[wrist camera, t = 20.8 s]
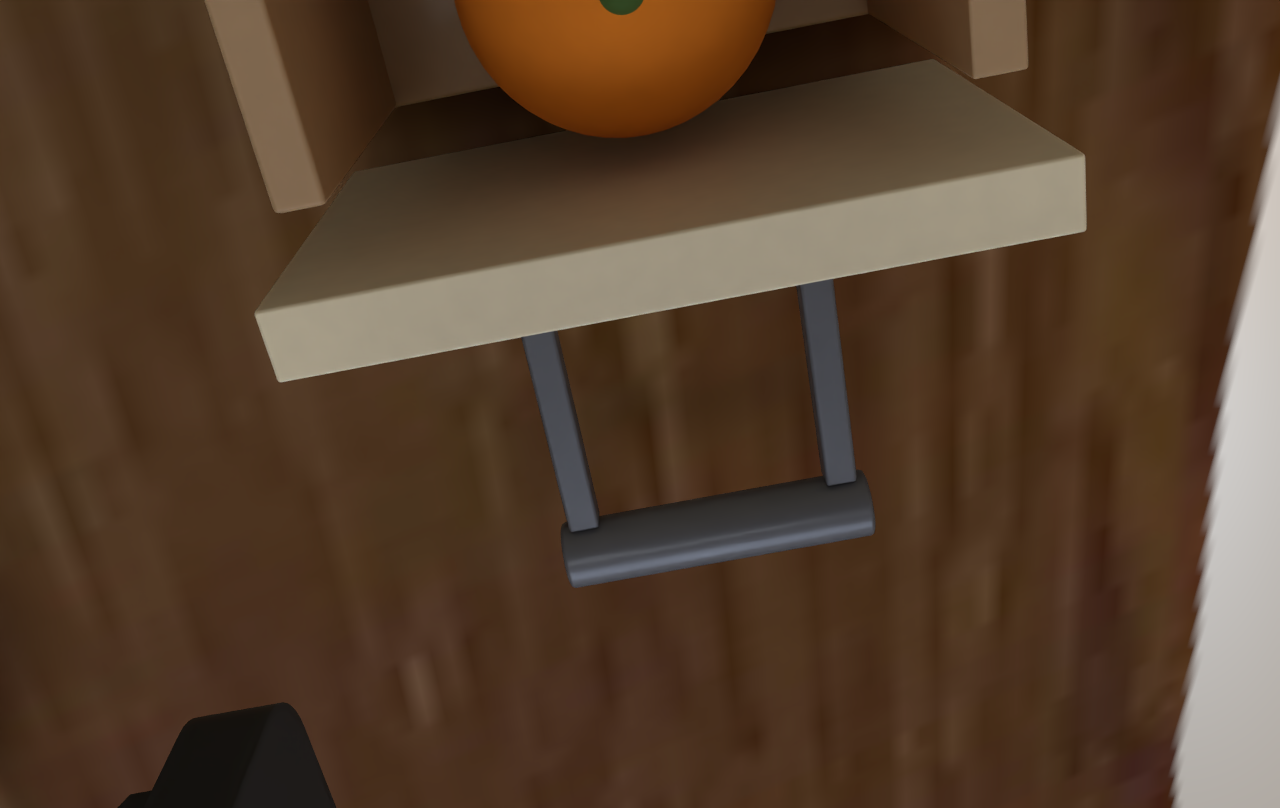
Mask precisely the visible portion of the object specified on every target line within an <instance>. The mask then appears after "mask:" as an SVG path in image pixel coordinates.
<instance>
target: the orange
mask: <svg viewBox="0 0 1280 808" xmlns="http://www.w3.org/2000/svg"><path fill="white" fill-rule="evenodd" d="M454 1H455V6H456V9H457V13H458V16H459V19H460V22H461V26H462V28H463V30H464V33H465V35H466V37H467V39H468V42H469V44H470V46H471V48H472V50H473V51H474V53H475V55H476V56H477V58H478V60H479V61H480V63H481V64H482V66H483V67H484V69H485V70H486V71H487V72H488V74H489V75H490V76H491V77H492V79H493V80H494V81H495V83H496V84H497V85H498V86H499V87H500V88H501V89H502V90H503V91H505V92H506V93H507V94H508V95H509V96H510V97H511V98H512V99H513V100H514V101H516V102H517V103H518V104H520V105H521V106H522V107H524V108H525V109H526V110H528V111H529V112H531V113H533V114H534V115H536V116H538V117H540V118H541V119H543V120H545V121H547V122H549V123H551V124H553V125H556V126H558V127H561V128H563V129H565V130H569V131H572V132H576V133H580V134H584V135H588V136H596V137H603V138H629V137H637V136H644V135H649V134H653V133H657V132H660V131H664V130H667V129H670V128H672V127H674V126H677V125H679V124H682V123H684V122H686V121H688V120H690V119H691V118H693V117H695V116H697V115H698V114H700V113H702V112H703V111H705V110H706V109H707V108H709V107H710V106H711V105H713V104H714V103H715V102H716V101H718V100H719V99H720V98H721V97H722V96H723V95H724V94H725V93H726V92H727V91H728V90H729V89H730V88H731V87H732V86H733V85H734V84H735V83H736V82H737V80H738V79H739V78H740V77H741V75H742V74H743V73H744V72H745V70H746V69H747V68H748V66H749V64H750V63H751V61H752V60H753V58H754V56H755V55H756V53H757V51H758V50H759V47H760V45H761V43H762V41H763V39H764V36H765V34H766V32H767V30H768V27H769V24H770V20H771V17H772V14H773V11H774V8H775V2H776V0H454Z"/></svg>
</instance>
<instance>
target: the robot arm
mask: <svg viewBox="0 0 1280 808" xmlns="http://www.w3.org/2000/svg"><path fill="white" fill-rule="evenodd" d="M118 808H336V806H335V803H334V801H333V798H332V796H331V793H330V791H329V788H328V786H327V783H326V781H325V778H324V776H323V773H322V770H321V768H320V765H319V763H318V760H317V758H316V755H315V753H314V750H313V748H312V745H311V743H310V740H309V738H308V735H307V733H306V730H305V727H304V725H303V723H302V721H301V718H300V717H299V715H298V713H297V712H296V710H295V709H294V708H293V707H292V706H291V705H289V704H288V703H277V704H271V705H266V706H260V707H254V708H249V709H243V710H237V711H231V712H226V713H220V714H214V715H209V716H203V717H197V718H193V719H192V720H190V721H188V722H187V724H186V725H185V726H184V727H183V729H182V730H181V732H180V734H179V736H178V738H177V740H176V742H175V744H174V746H173V748H172V750H171V752H170V754H169V756H168V758H167V761H166V763H165V765H164V767H163V769H162V771H161V773H160V775H159V777H158V779H157V781H156V783H155V785H154V787H153V789H152V791H147V792H142V793H136V794H130V795H129V796H128V797H127V798H126V800H125V801H124V802H123V803H122V804H121V805H120V806H119V807H118Z"/></svg>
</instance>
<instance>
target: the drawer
mask: <svg viewBox="0 0 1280 808" xmlns="http://www.w3.org/2000/svg"><path fill="white" fill-rule="evenodd" d="M204 1H205V4H206V7H207V10H208V13H209V16H210V19H211V22H212V25H213V29H214V32H215V35H216V38H217V41H218V44H219V47H220V50H221V53H222V56H223V59H224V62H225V65H226V68H227V71H228V74H229V77H230V80H231V83H232V86H233V89H234V92H235V95H236V98H237V101H238V104H239V107H240V110H241V113H242V116H243V119H244V122H245V125H246V128H247V131H248V134H249V137H250V140H251V143H252V146H253V150H254V153H255V156H256V159H257V162H258V165H259V168H260V171H261V174H262V177H263V180H264V183H265V186H266V189H267V192H268V195H269V198H270V201H271V204H272V207H273V209H274V211H275V212H276V213H285V212H290V211H295V210H300V209H305V208H311V207H316V206H321V205H323V204H325V203H326V202H327V200H328V199H329V198H330V196H331V195H332V194H333V192H334V191H335V190H336V188H337V187H338V185H339V184H340V183H341V181H342V180H343V179H344V177H345V176H346V174H347V173H348V172H349V170H350V169H351V168H352V166H353V165H354V164H355V162H356V161H357V159H358V158H359V157H360V155H361V154H362V153H363V151H364V150H365V148H366V147H367V146H368V144H369V143H370V142H371V140H372V139H373V137H374V136H375V135H376V133H377V132H378V131H379V129H380V128H381V127H382V125H383V124H384V122H385V121H386V120H387V118H388V117H389V116H390V114H391V113H392V111H393V110H394V109H395V107H399V106H404V105H409V104H414V103H419V102H425V101H430V100H435V99H440V98H445V97H450V96H455V95H460V94H465V93H470V92H475V91H480V90H485V89H490V88H495V87H499V86H498V85H497V84H496V83H495V81H494V80H493V79H492V77H491V76H490V75H489V74H488V72H487V71H486V70H485V69H484V67H483V66H482V64H481V63H480V61H479V60H478V58H477V56H476V55H475V53H474V51H473V50H472V48H471V46H470V44H469V42H468V39H467V37H466V35H465V33H464V30H463V28H462V26H461V22H460V19H459V16H458V13H457V9H456V6H455V1H454V0H204ZM865 14H870V15H871V16H873V17H874V18H876V19H878V20H879V21H881V22H883V23H884V24H886V25H887V26H889V27H891V28H892V29H894V30H896V31H897V32H899V33H900V34H902V35H904V36H905V37H907V38H909V39H910V40H912V41H913V42H915V43H917V44H918V45H920V46H922V47H923V48H925V49H926V50H928V51H930V52H931V53H933V54H935V55H936V56H938V57H939V58H941V59H943V60H944V61H946V62H948V63H949V64H951V65H952V66H954V67H956V68H957V69H959V70H961V71H962V72H964V73H965V74H967V75H969V76H970V77H972V78H974V79H978V78H983V77H988V76H994V75H999V74H1004V73H1009V72H1014V71H1019V70H1025V69H1026V68H1028V44H1027V20H1026V0H776V2H775V8H774V11H773V14H772V17H771V20H770V24H769V27H768V30H767V32H766V34H769V33H774V32H779V31H784V30H789V29H794V28H799V27H805V26H810V25H815V24H820V23H825V22H830V21H835V20H840V19H845V18H850V17H855V16H860V15H865ZM1086 227H1087V226H1086V178H1085V155H1084V154H1083V153H1082V152H1080V151H1079V150H1077V149H1075V148H1074V147H1072V146H1071V145H1069V144H1067V143H1066V142H1064V141H1063V140H1061V139H1059V138H1058V137H1056V136H1055V135H1053V134H1052V133H1050V132H1048V131H1047V130H1045V129H1044V128H1042V127H1040V126H1039V125H1037V124H1036V123H1034V122H1033V121H1031V120H1029V119H1028V118H1026V117H1025V116H1023V115H1021V114H1020V113H1018V112H1017V111H1015V110H1014V109H1012V108H1010V107H1009V106H1007V105H1006V104H1004V103H1002V102H1001V101H999V100H998V99H996V98H994V97H993V96H991V95H990V94H988V93H987V92H985V91H983V90H982V89H980V88H979V87H977V86H975V85H974V84H972V83H971V82H969V81H968V80H966V79H964V78H963V77H961V76H960V75H958V74H956V73H955V72H953V71H952V70H950V69H949V68H947V67H945V66H944V65H942V64H941V63H939V62H937V61H936V60H934V59H930V60H925V61H920V62H914V63H909V64H904V65H899V66H894V67H889V68H884V69H879V70H874V71H868V72H863V73H858V74H853V75H848V76H843V77H838V78H833V79H827V80H822V81H817V82H812V83H807V84H802V85H797V86H792V87H786V88H781V89H776V90H771V91H766V92H761V93H756V94H751V95H745V96H740V97H735V98H730V99H725V100H720V101H716V102H715V103H714V104H713V105H711V106H710V107H709V108H707V109H706V110H705V111H703V112H702V113H700V114H698V115H697V116H695V117H693V118H691V119H690V120H688V121H686V122H684V123H682V124H679V125H677V126H674V127H672V128H670V129H667V130H664V131H660V132H657V133H653V134H649V135H644V136H637V137H629V138H603V137H596V136H588V135H584V134H580V133H576V132H572V131H569V130H566V131H561V132H556V133H551V134H546V135H541V136H535V137H530V138H525V139H520V140H515V141H510V142H505V143H500V144H494V145H489V146H484V147H479V148H474V149H469V150H464V151H459V152H453V153H448V154H443V155H438V156H433V157H428V158H423V159H418V160H412V161H407V162H402V163H397V164H392V165H387V166H382V167H377V168H371V169H366V170H361V171H356V172H354V173H353V175H352V176H351V177H350V179H349V180H348V182H347V183H346V184H345V186H344V187H343V189H342V190H341V191H340V193H339V194H338V196H337V197H336V198H335V200H334V201H333V203H332V204H331V205H330V207H329V208H328V210H327V211H326V212H325V214H324V215H323V217H322V218H321V220H320V221H319V222H318V224H317V225H316V227H315V228H314V229H313V231H312V232H311V234H310V235H309V236H308V238H307V239H306V241H305V242H304V243H303V245H302V246H301V248H300V249H299V250H298V252H297V253H296V255H295V256H294V257H293V259H292V260H291V262H290V263H289V264H288V266H287V267H286V269H285V270H284V271H283V273H282V274H281V276H280V277H279V279H278V280H277V281H276V283H275V284H274V286H273V287H272V288H271V290H270V291H269V293H268V294H267V295H266V297H265V298H264V300H263V301H262V302H261V304H260V305H259V307H258V308H257V309H256V311H255V317H256V320H257V323H258V326H259V329H260V331H261V334H262V337H263V340H264V343H265V346H266V349H267V351H268V354H269V357H270V360H271V363H272V366H273V368H274V371H275V374H276V377H277V380H278V381H279V382H285V381H290V380H296V379H301V378H306V377H312V376H317V375H322V374H328V373H333V372H338V371H344V370H349V369H354V368H360V367H365V366H370V365H376V364H381V363H386V362H392V361H397V360H402V359H408V358H413V357H418V356H424V355H429V354H434V353H440V352H445V351H450V350H456V349H461V348H466V347H472V346H477V345H482V344H488V343H493V342H498V341H504V340H509V339H514V338H520V337H521V338H522V342H523V346H524V350H525V354H526V358H527V362H528V366H529V370H530V374H531V378H532V382H533V386H534V390H535V394H536V398H537V402H538V406H539V410H540V414H541V418H542V422H543V426H544V430H545V434H546V438H547V443H548V447H549V451H550V455H551V459H552V463H553V467H554V471H555V475H556V479H557V483H558V487H559V491H560V495H561V499H562V503H563V507H564V511H565V515H566V519H567V522H565V523H564V524H562V527H561V544H562V552H563V558H564V563H565V568H566V572H567V576H568V579H569V581H570V583H571V585H572V587H575V588H577V587H583V586H589V585H594V584H600V583H606V582H611V581H617V580H622V579H628V578H634V577H639V576H645V575H651V574H656V573H662V572H667V571H673V570H679V569H684V568H690V567H696V566H701V565H707V564H713V563H718V562H724V561H729V560H735V559H741V558H746V557H752V556H758V555H763V554H769V553H774V552H780V551H786V550H791V549H797V548H803V547H808V546H814V545H819V544H825V543H831V542H836V541H842V540H848V539H853V538H859V537H864V536H870V535H872V534H874V532H875V515H874V508H873V502H872V497H871V493H870V489H869V486H868V482H867V479H866V477H865V475H864V473H863V472H862V470H856V467H855V458H854V450H853V442H852V433H851V425H850V417H849V408H848V400H847V392H846V383H845V375H844V367H843V359H842V350H841V342H840V334H839V325H838V317H837V309H836V300H835V292H834V284H833V279H834V278H839V277H845V276H850V275H855V274H861V273H866V272H871V271H877V270H882V269H887V268H893V267H898V266H903V265H909V264H914V263H919V262H925V261H930V260H935V259H941V258H946V257H951V256H957V255H962V254H967V253H973V252H978V251H983V250H989V249H994V248H999V247H1005V246H1010V245H1015V244H1021V243H1026V242H1031V241H1037V240H1042V239H1047V238H1053V237H1058V236H1063V235H1069V234H1074V233H1079V232H1084V231H1086ZM791 286H796V287H797V294H798V301H799V309H800V316H801V324H802V331H803V339H804V346H805V353H806V361H807V368H808V376H809V383H810V390H811V398H812V405H813V413H814V420H815V427H816V435H817V442H818V450H819V457H820V464H821V472H822V474H823V476H819V477H814V478H808V479H803V480H797V481H792V482H786V483H780V484H775V485H769V486H764V487H758V488H753V489H747V490H742V491H736V492H731V493H725V494H719V495H714V496H708V497H703V498H697V499H692V500H686V501H681V502H675V503H669V504H664V505H658V506H653V507H647V508H642V509H636V510H631V511H625V512H620V513H614V514H608V515H603V516H599V508H598V504H597V499H596V495H595V491H594V487H593V482H592V478H591V474H590V469H589V465H588V461H587V457H586V452H585V448H584V444H583V439H582V435H581V431H580V427H579V422H578V418H577V414H576V409H575V405H574V401H573V396H572V392H571V388H570V384H569V379H568V375H567V371H566V366H565V362H564V358H563V354H562V349H561V345H560V341H559V336H558V332H557V330H562V329H568V328H573V327H578V326H584V325H589V324H594V323H600V322H605V321H610V320H616V319H621V318H626V317H632V316H637V315H642V314H647V313H653V312H658V311H663V310H669V309H674V308H679V307H685V306H690V305H695V304H701V303H706V302H711V301H717V300H722V299H727V298H733V297H738V296H743V295H749V294H754V293H759V292H765V291H770V290H775V289H781V288H786V287H791Z"/></svg>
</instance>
